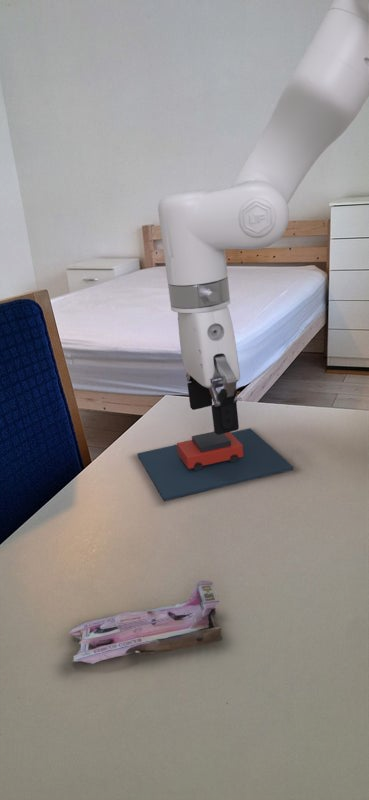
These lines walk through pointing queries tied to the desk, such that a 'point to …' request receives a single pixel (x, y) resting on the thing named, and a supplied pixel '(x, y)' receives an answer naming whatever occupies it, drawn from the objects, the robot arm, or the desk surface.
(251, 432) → the mat
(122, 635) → the toy boat
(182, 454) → the red toy vehicle
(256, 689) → the desk surface
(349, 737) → the desk surface
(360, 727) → the desk surface
